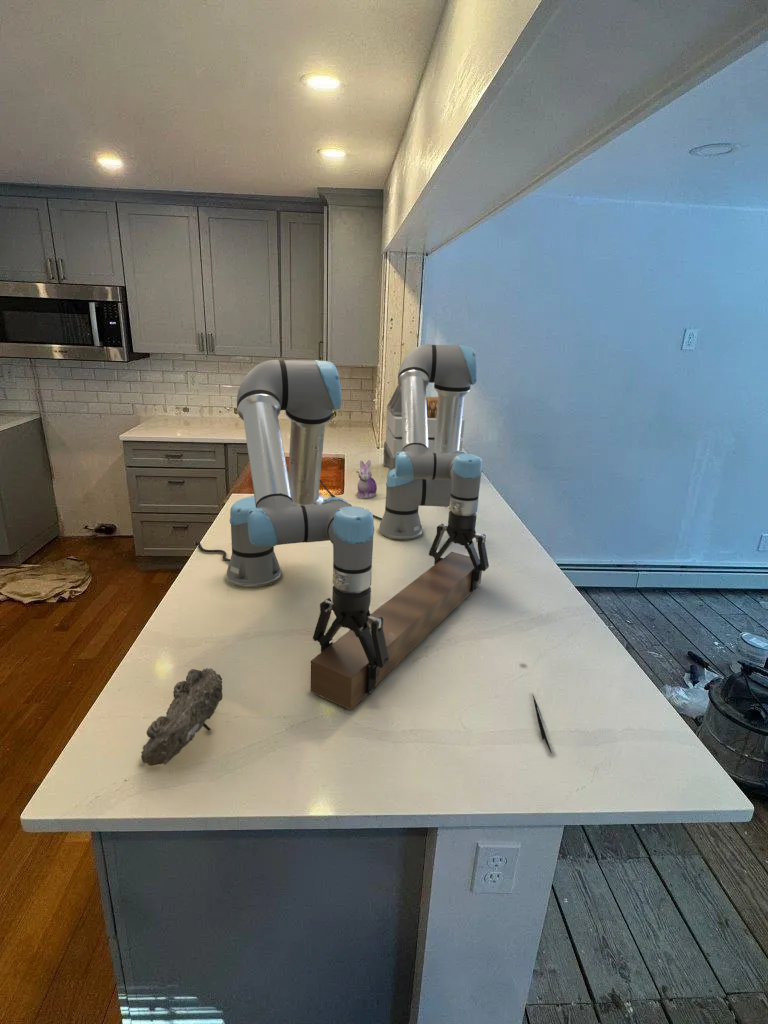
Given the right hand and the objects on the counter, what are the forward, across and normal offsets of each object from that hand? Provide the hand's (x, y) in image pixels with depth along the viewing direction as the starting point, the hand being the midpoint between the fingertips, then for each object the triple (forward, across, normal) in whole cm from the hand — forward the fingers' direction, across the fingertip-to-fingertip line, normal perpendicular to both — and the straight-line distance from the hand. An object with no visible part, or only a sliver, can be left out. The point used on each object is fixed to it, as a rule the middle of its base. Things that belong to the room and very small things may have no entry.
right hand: (455, 584), depth 161 cm
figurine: (+2, -66, +56) cm, 87 cm away
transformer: (+2, -65, +101) cm, 120 cm away
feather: (+1, +35, -37) cm, 51 cm away
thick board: (+1, 0, -27) cm, 27 cm away
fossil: (+1, -17, -80) cm, 82 cm away
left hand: (0, 0, -53) cm, 53 cm away
